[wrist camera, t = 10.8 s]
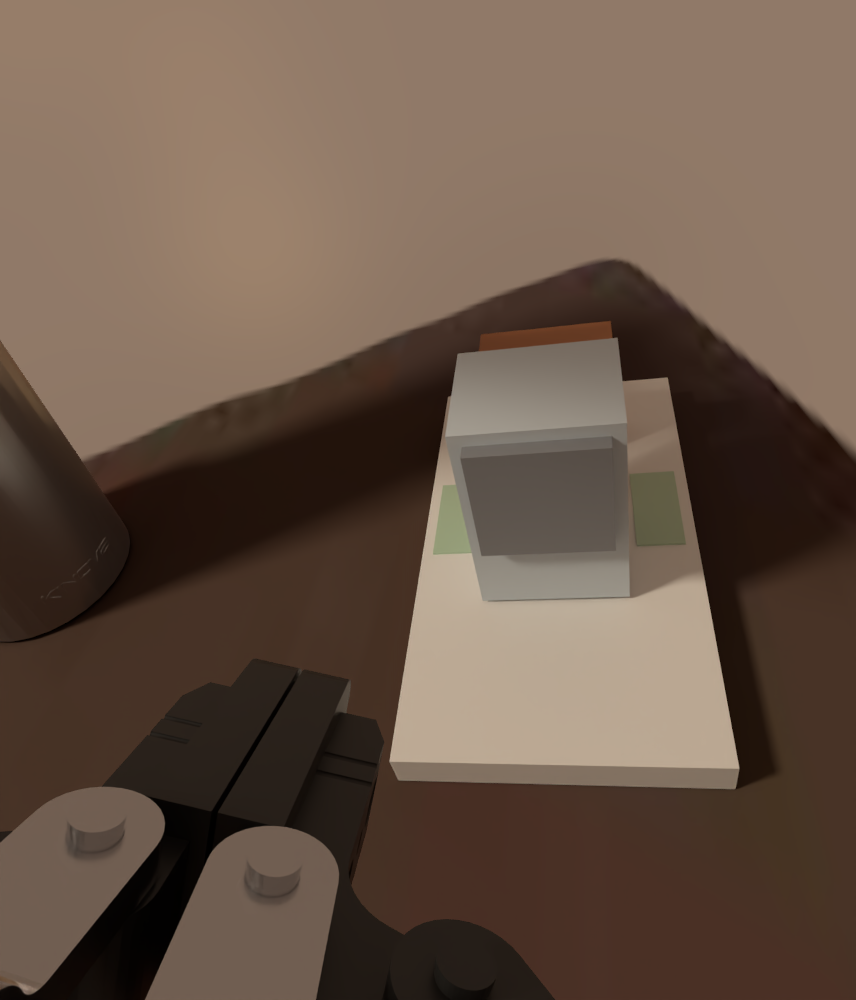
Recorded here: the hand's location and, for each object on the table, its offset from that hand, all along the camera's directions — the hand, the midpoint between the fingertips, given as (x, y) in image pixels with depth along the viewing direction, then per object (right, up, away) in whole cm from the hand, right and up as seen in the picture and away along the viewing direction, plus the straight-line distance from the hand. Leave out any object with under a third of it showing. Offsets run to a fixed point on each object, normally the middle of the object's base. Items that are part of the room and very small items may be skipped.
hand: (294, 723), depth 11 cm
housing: (+8, +1, +23) cm, 25 cm away
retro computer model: (+8, +1, +21) cm, 23 cm away
